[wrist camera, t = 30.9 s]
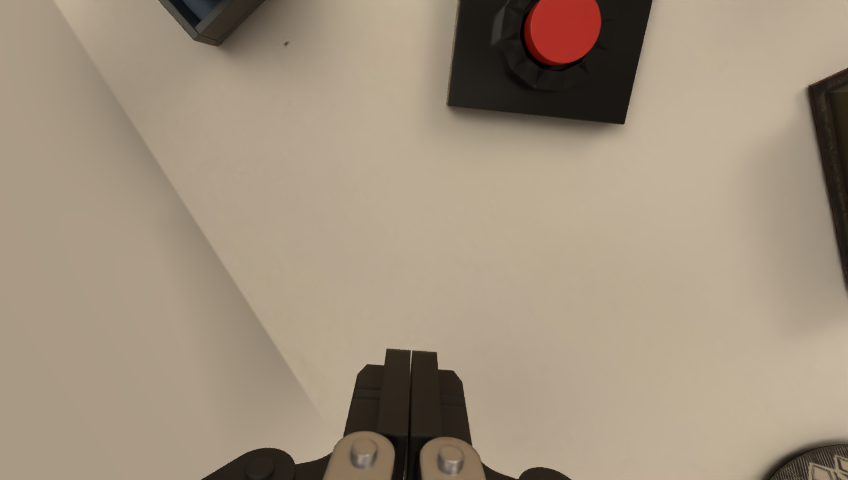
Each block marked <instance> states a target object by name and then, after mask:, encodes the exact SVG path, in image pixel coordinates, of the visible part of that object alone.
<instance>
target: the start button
mask: <svg viewBox="0 0 848 480" xmlns="http://www.w3.org/2000/svg"><path fill="white" fill-rule="evenodd" d="M600 27H601V15H600V10H599V7H598V5H597V3H596V1H595V0H539V1H538V2H537V3H536V4H535V5H534V7H533V8H532V9H531V11H530V12H529V14H528V16H527V19H526V22H525V26H524V38H525V43H526V46H527V48H528V50H529V52H530V53H531V55H532V56H533V57H534V58H535V59H536V60H538V61H539V62H541V63H543V64H546V65H551V66H557V65H563V64H566V63H570V62H573V61H576V60H578V59H580V58H581V57H583V56H584V55H585V54H586V53H588V52H589V50H590V49H591V48H592V47H593V45H594V44H595V42H596V40H597V38H598V35H599V32H600Z"/></svg>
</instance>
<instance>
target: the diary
mask: <svg viewBox="0 0 848 480" xmlns="http://www.w3.org/2000/svg"><path fill="white" fill-rule="evenodd" d="M809 91H810V96H811V101H812V106H813V111H814V116H815V121H816V126H817V131H818V136H819V141H820V146H821V152H822V157H823V162H824V167H825V172H826V177H827V182H828V187H829V192H830V197H831V202H832V207H833V212H834V217H835V222H836V228H837V233H838V238H839V243H840V248H841V253H842V258H843V263H844V267H845V273H846V278H847V283H848V68H847V69H845V70H843V71H840V72H838V73H836V74H834V75H832V76H830V77H827V78H825V79H823V80H821V81H819V82H816V83H814V84H812V85H809Z"/></svg>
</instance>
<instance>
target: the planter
mask: <svg viewBox="0 0 848 480" xmlns="http://www.w3.org/2000/svg"><path fill="white" fill-rule="evenodd" d="M770 480H848V445H832V446H827V447H822V448H818V449H815V450H812V451H810V452H807V453H805V454H803V455H800V456H799V457H797V458H795V459H793V460H792V461H790V462H789V463H787V464H786V465H784V466H783V467H782V468H781V469H780V470H778V471H777V472H776V473H775V474H774V475H773V476H772V478H771V479H770Z"/></svg>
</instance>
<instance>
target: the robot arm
mask: <svg viewBox="0 0 848 480" xmlns="http://www.w3.org/2000/svg"><path fill="white" fill-rule="evenodd" d="M410 355H411V350H400V349H387V350H386V357H385V364H384V365H371V364H367V365H366V366H365V367H364V368H363V369H362V370H361V371H360V372H359V373H358V374H357V379H356V383H355V389H354V392H353V396H352V401H351V405H350V409H349V414H348V418H347V422H346V427H345V431H344V435H343V438H342V439H341V440H339V441H338V442H337V444H336V445H335V447H334V449H333V452H332V453H330V454H329V455H327V456H325V457H323V458H321V459H318V460H315V461H311V462H306V463H301V464H295V463H294V460H293V459H292V457H291V456H290V455H289V454H287V453H286V452H284V451H282V450H279V449H275V448H261V449H256V450H253V451H250V452H247V453H245V454H243V455H242V456H240V457H238V458H237V459H235V460H233V461H232V462H230V463H228V464H227V465H225V466H223V467H222V468H220V469H218V470H217V471H215V472H213V473H212V474H210V475H208V476H207V477H205V478H203V479H202V480H403V477H404V480H571V479H570V478H568V477H567V476H565V475H564V474H562V473H560V472H558V471H555V470H553V469H549V468H543V467H536V468H531V469H528V470H526V471H524V472H523V473H522V474H521V475H520V477H519V479H515V478H512V477H509V476H506V475H503V474H500V473H498V472H496V471H494V470H492V469H490V468H489V467H487V466H486V465H485V464H483V463H482V462H481V459H480V456H479V454H478V453H477V451H476V450H475V449H474V448H473V447H472V442H471V435H470V429H469V423H468V416H467V410H466V404H465V397H464V391H463V384H462V381H461V380H460V379H459V377H458V376H457V375H456V373H455V372H454V371H451V370H438V362H437V352H427V351H414V350H413V351H412V360H411V370H410Z"/></svg>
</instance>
